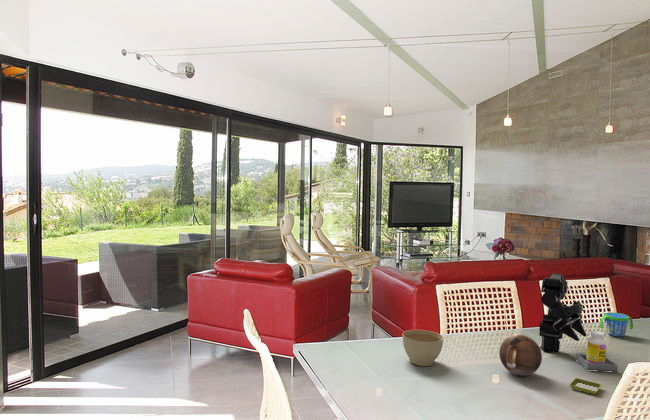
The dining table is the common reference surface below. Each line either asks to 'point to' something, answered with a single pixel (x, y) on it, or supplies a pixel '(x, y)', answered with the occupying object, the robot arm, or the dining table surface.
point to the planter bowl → (422, 346)
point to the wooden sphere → (520, 355)
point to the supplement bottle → (596, 348)
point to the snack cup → (616, 323)
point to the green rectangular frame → (585, 384)
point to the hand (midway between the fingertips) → (582, 338)
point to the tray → (607, 366)
